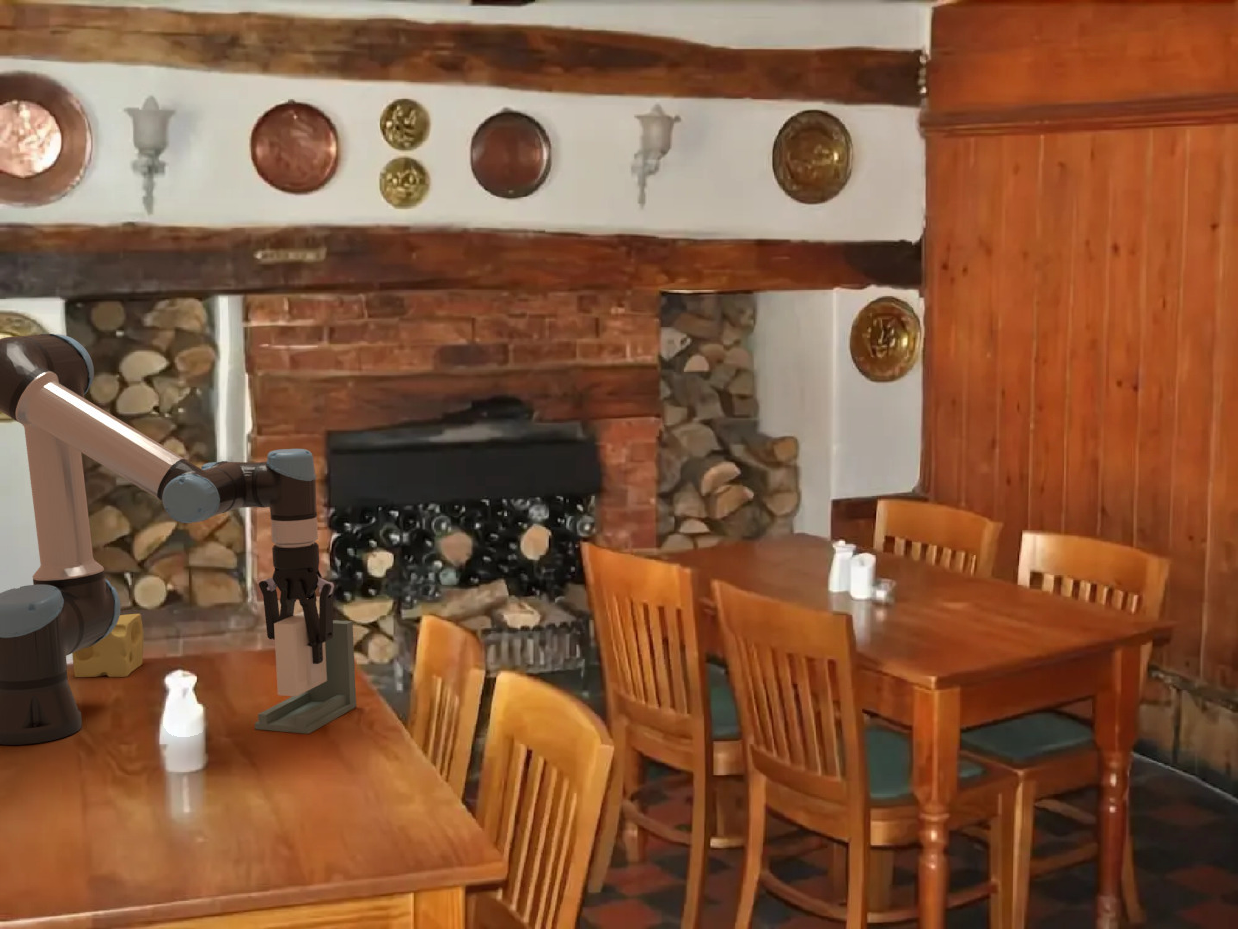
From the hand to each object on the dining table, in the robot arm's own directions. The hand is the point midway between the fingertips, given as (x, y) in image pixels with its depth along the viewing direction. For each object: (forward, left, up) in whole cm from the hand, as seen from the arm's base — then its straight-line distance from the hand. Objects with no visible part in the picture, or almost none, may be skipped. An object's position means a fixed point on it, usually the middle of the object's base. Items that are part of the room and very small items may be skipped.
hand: (302, 681), depth 257 cm
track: (+1, 0, -7) cm, 7 cm away
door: (0, 0, -1) cm, 1 cm away
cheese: (+19, +53, -7) cm, 57 cm away
